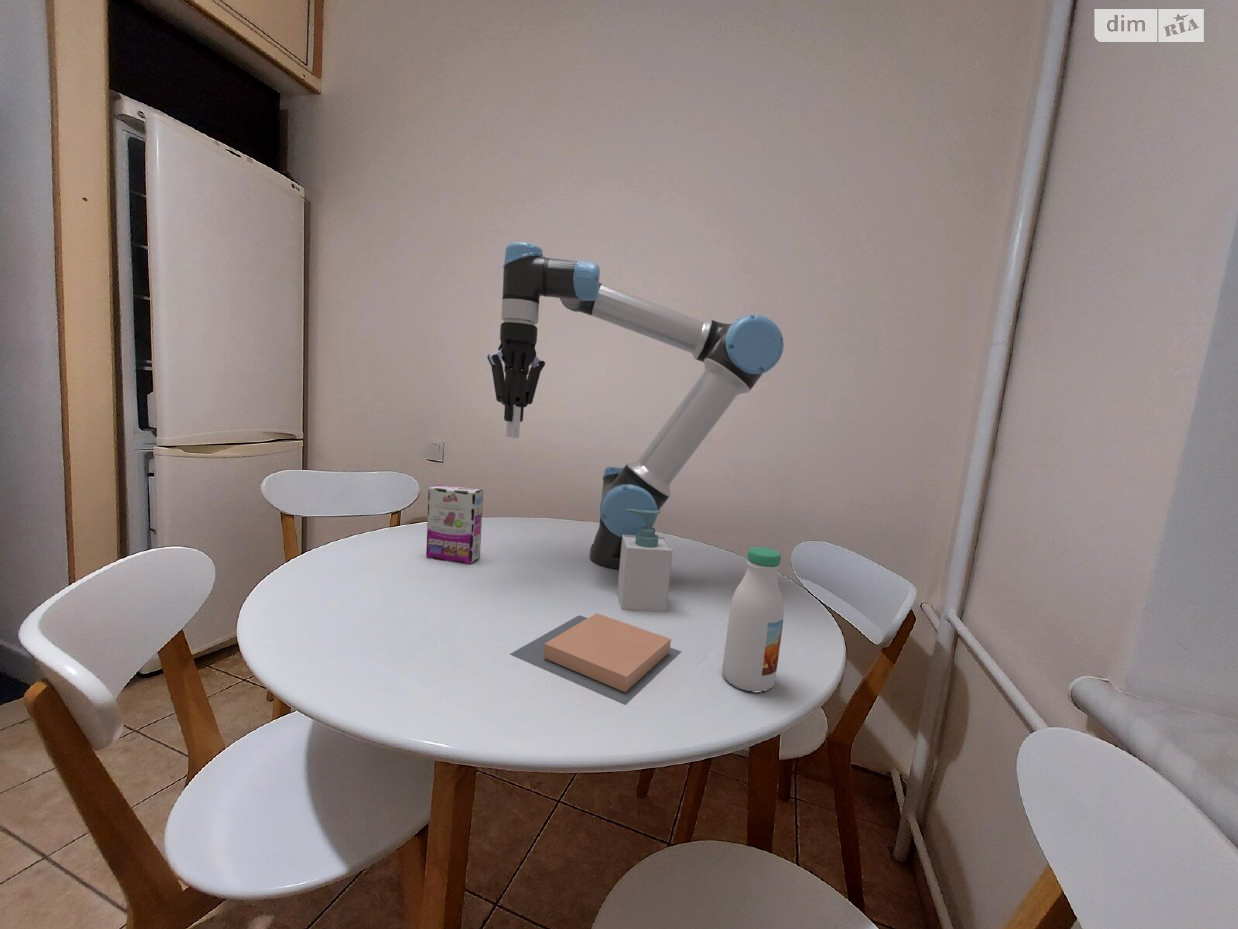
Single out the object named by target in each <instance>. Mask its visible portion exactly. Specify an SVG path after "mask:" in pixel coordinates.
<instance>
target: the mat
mask: <svg viewBox="0 0 1238 929" xmlns="http://www.w3.org/2000/svg"><path fill="white" fill-rule="evenodd" d="M587 618H588V617H585V616H583V615H580V614H579V615H577V616H575V617H573V618H571V619H570V620H568V621H565V622H564V623H562V624H561V625H559V626H557V627H555V628H553V629H552V630H550V631H548V632H547V633H544V634H543V635H541V636H539V637H537V638H536V639H534V640H532V641H530V642H528V643H527V644H525V645H523V646H521V647H520V648H518V649H516V650H514V651H512V652H510V653H509V655H510V656H512V657H514V658H516V659H519V660H522V661H524V662H525V663H528V664H530V665H533V666H535V667H538V668H540V669H542V670H544V671H547V672H549V673H551V674H554V675H556V676H558V677H560V678H562V679H565V680H567V681H570V682H572V683H574V684H576V685H578V686H582V687H584V688H586V689H588V690H590V691H593V692H595V693H597V694H599V695H602V696H604V697H606V698H609V699H611V700H613V701H615V702H618V703H620V704H622V705H624V706H626V705H628V703H629V702H630V701H631V700H633V699H634V697H636V696H637V695H638V694H639V693H640V692H641V691H642V690H643V689H644V688H646V686H647V685H648V684H650V683H651V681H652V680H653V679H655V678H656V677H657V675H659V674H660V673H661V672H662V671H663V670H664V669H665V668H666V667H667V666H668V665H670V664H671V663H672V661H673V660H675V659H676V658H677V657H678V656H679V654H681V653H682V650H679V649H676V648H673V647H670V652H669V653H668V654H667V655H666V656H665V657H664V658H663V659H661V660H660V661H659V662H658V663H657V664H656V665H655V666H654V667H653V668H651V669H650V670H649V671H648V672H647V673H646V674H645V675H644V676H643V677H641V678H640V679H639V680H638V681H637V682H636V683H635V684H634V685H633V686H632V687H630V688H629V689H628V690H627V691H626V692H623V691H621V690H618V689H616V688H614V687H611V686H609V685H607V684H604V683H602V682H600V681H597V680H595V679H592V678H590V677H588V676H585V675H583V674H581V673H578V672H576V671H574V670H571V669H569V668H566V667H564V666H562V665H559V664H557V663H555V662H552V661H550V660H548V659H546V658H543V657H544V644H545V643H546V642H548V641H550V640H551V639H553V638H555V637H557V636H558V635H560V634H562V633H563V632H565V631H567V630H569V629H570V628H572V627H574V626H575V625H577V624H579V623H581V622H582V621H584V620H586V619H587Z"/></svg>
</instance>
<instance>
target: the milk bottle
mask: <svg viewBox="0 0 1238 929" xmlns="http://www.w3.org/2000/svg"><path fill="white" fill-rule="evenodd" d="M781 557H782V556H781V553H780V552H779V551H777V550H775V549H772V548H769V547H762V546H752V547H750V548H749V549H748V550H747V556H746V558H747V559H746V560H747V561H746V565H747V569H746V571H745V573H744V575H743V578H742V579H741V581H740V582H739V584H738V586H737V587H736V589H735V591H734V593H733V595H732V597H731V598H732V600H731V603H730V609H729V615H728V622H727V629H726V637H725V643H724V644H725V646H724V653H723V661H722V662H723V663H722V668H721V669H722V671H721V672H722V676H723V678H724V680H725V679H726V680H727V681H728V682H729V683H728V682H727V681H726V680H725V681H726V682H727V683H728V684H730V685H731V684H732V685H731V686H733V685H734V686H735V688H736V687H737V689H739V688H741V689H743V690H742V691H744V690H747V691H746V692H748V691H765V690H768V689H770V688H771V689H772V688H773V687H774V685H775V683H776V677H777V670H778V664H779V656H780V650H781V649H780V648H781V642H782V633H783V625H784V615H785V605H784V598H783V595H782V592H781V589H780V585H779V581H778V570H779V569H780V564H781ZM734 686H733V687H734ZM741 689H740V690H741ZM771 689H770V690H771ZM768 691H769V690H768Z"/></svg>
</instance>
